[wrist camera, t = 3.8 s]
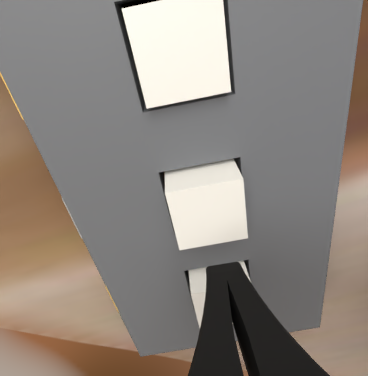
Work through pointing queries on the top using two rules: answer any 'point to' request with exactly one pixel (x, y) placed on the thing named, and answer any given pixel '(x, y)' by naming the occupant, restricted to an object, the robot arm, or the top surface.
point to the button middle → (206, 204)
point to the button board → (190, 149)
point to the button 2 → (202, 288)
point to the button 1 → (179, 49)
